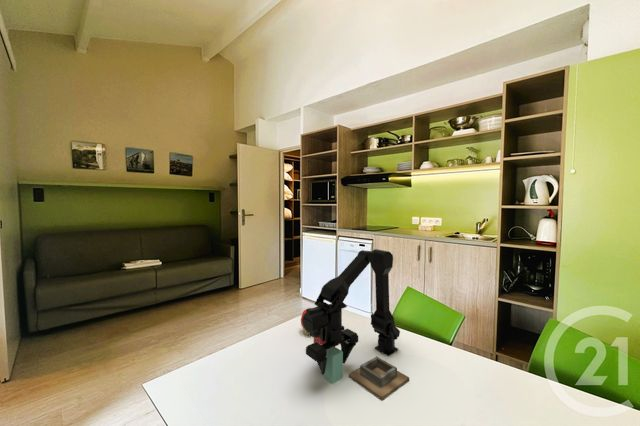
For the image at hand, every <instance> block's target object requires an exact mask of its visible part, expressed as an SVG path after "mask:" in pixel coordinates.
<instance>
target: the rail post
mask: <svg viewBox="0 0 640 426" xmlns="http://www.w3.org/2000/svg"><path fill="white" fill-rule="evenodd" d="M326 358H327V363H326V369H325V373H324V375H323V378H325V379H326V380H328V382H330V383H331V384H335V383H337V382H338V381H341V380H342V379H343V378H344V364H343V351H341V349H339V348H338V347H337V346H335V347H333V348H331V349H329V350H327V355H326Z"/></svg>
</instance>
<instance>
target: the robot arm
mask: <svg viewBox="0 0 640 426" xmlns="http://www.w3.org/2000/svg"><path fill="white" fill-rule="evenodd" d="M393 263H394V255H393V253H391V251H389V250H382V249H378V248H375V249H373V250H363V249H362V250H360V251H358V253H357V255H356V257H354V258H353V259H352V260H351V262H350V263H349V264H348V265H347V266H346V268H344V270H342V271H341V273H340V274H339V275H338V276H337V277H333V278H332V279H330V280H328V281H326V283H325V284H324V285H323V286H322V287H321V290H320V293H319V294H318V297H317V298H316V300H315V302H314V305H315V307H308V308H309V309H308V308H306V309H307V310H306V309H305V310H306V313H305V314H304V316H303V318H302V321H303V326H304V328H305V330H306V331H307V332H309V333H310V334H309V333H308V334H309V335H310V337H311V338H314V337H315V338H317V337H318V338H320V340H321V341H325V344H322V345H320V344H318V343H317V342H315V343H314V342H313V343H311V344H308V345H307V346H306V347H305V355H307V356H308V357H309V358H311V359H312V360H313V361H314V362H316V363H317V365H318V368H319V371H320V373H321V375H322V376H324V373H325V369H326V363H327V358H326V355H327V350H329V349H331V348H333V347H337V346H339V345H340V350H341V351H343V365H344V364H346V362H347V360H348V358H349V357H350V354H351V352H352V350H353V349H354V347H355V346H356V345H357V343H358V342H359V335H358V333H357V332H355V331H353V330H351V329H349V328H346V329H345V326H344V325H342V324H343V323H342V321H343V319H342V318H343V314H342V313H343V312H342V311H343V309H345V308H347V307H348V305H347V304H346V303H344V301H345V299H346V298H347V296H348V294H349V289H350V287H351V285H352V284H353V283H354V282H355V280H357V278H358V277H359V276H361V274H362V272H363V271H364V270H365V269H366V268H367V266H369V264H370V267H371V268H372V270H373V272H374V276H375V277H374V282H375V307H376V308H375V311H374V312H373V313H372V314H370V320H371V321H370V325H371V327H372V328H373V331H374V332H375V333H377V334H378V336H377V337H378V338H377V339H378V340H377V345H376V346H375V347H374V350H376V351H378V352H380V353H382V354H384V355H386V356H390V355H393V354H394V353H396V352H398V351H399V348H398V347H396V346H395V344H396V343H395V342H396V340H398V338H400V333H401V331H400V329H399V328H397V326H396V324H395V323H396V322H395V318H394V316H393V314H392V312H391V310H390V283H389V277H390V276H389V275H390V272H391V270H392V269H393ZM325 301H326V302H325ZM327 302H328V303H327ZM305 330H304V331H305ZM306 331H305V332H306ZM307 332H306V333H307Z"/></svg>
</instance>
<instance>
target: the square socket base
mask: <svg viewBox="0 0 640 426" xmlns="http://www.w3.org/2000/svg"><path fill="white" fill-rule="evenodd" d="M347 376H348V378H349V379H351V380H352V381H353V382H355V383H356V384H358V385H359V386H361V387H362V388H364V389H365V390H366V391H368V392H369V393H371V395H374V396H375V397H376V398H378V399H379V400H380V401H384V400H385V399H386V398H387V397H389V396H390V395H392V394H393V393H394V392H396V391H398V389H400V388H401V387H403V386H404V385H405V384H407V383H408V382H410V377H409V376H407V375H406V374H404V373H403V372H401V371H399V370H398V367H396V366H394V365H393V364H391V363H389V362H387V361H386V360H384V359H382V358H381V357H379V356H374V357H373V358H371V359H369V360H368V361H365V362H364V363H362V364H361V365H359V367H357V368H356V369H355V370H353V371H351V372H350V373H347Z"/></svg>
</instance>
